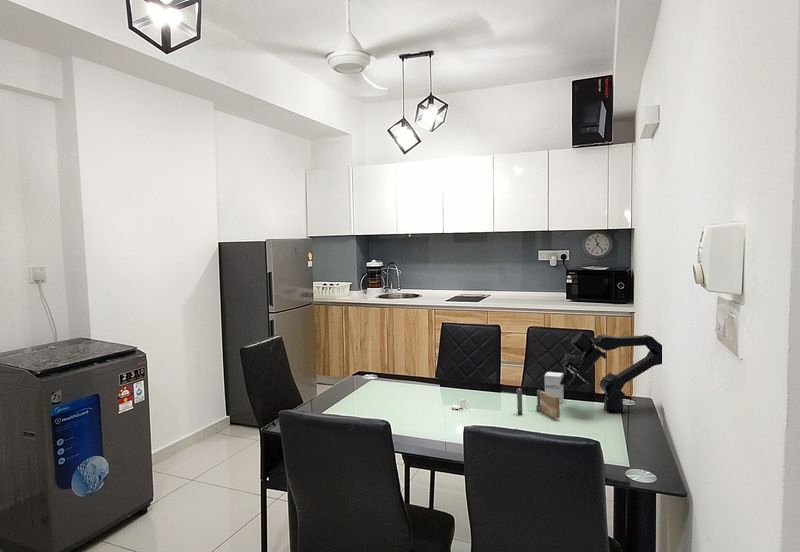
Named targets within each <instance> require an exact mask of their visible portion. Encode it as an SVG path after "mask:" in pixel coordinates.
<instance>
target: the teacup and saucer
mask: <svg viewBox="0 0 800 552" xmlns="http://www.w3.org/2000/svg"><path fill="white" fill-rule="evenodd" d="M459 406H460V407H459ZM466 406H467V408H469V407H468V406H470V401H468V400H467V399H459V405H457V404H452V405H451V409H453V408H454V409H453V410H455V409H458V408H460V409H461V408H466ZM467 408H466V409H467ZM458 410H459V409H458Z"/></svg>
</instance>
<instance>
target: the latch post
mask: <svg viewBox="0 0 800 552" xmlns="http://www.w3.org/2000/svg"><path fill="white" fill-rule="evenodd" d="M516 398H517V399H516V403H517V404H516V405H517V406H516V407H517V408H516V409H517V416H523V389H522V388H520V387H518V388H516Z"/></svg>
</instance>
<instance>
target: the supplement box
mask: <svg viewBox="0 0 800 552" xmlns="http://www.w3.org/2000/svg"><path fill="white" fill-rule="evenodd" d="M563 375H564V372H554V371H546V373H545V374H544V392H546V393H548V394H550V395H552V396H557V397H559V405H560V404H562V403H563V401H564V384H563V385H561V384H560V382H561V380H562V378H563Z"/></svg>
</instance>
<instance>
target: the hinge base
mask: <svg viewBox="0 0 800 552" xmlns="http://www.w3.org/2000/svg"><path fill="white" fill-rule="evenodd" d="M535 408H536V409H535V411H536V412H540V413H541V412H542V413H543V411H541V410H540V406H538V405H536V406H535Z"/></svg>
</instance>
